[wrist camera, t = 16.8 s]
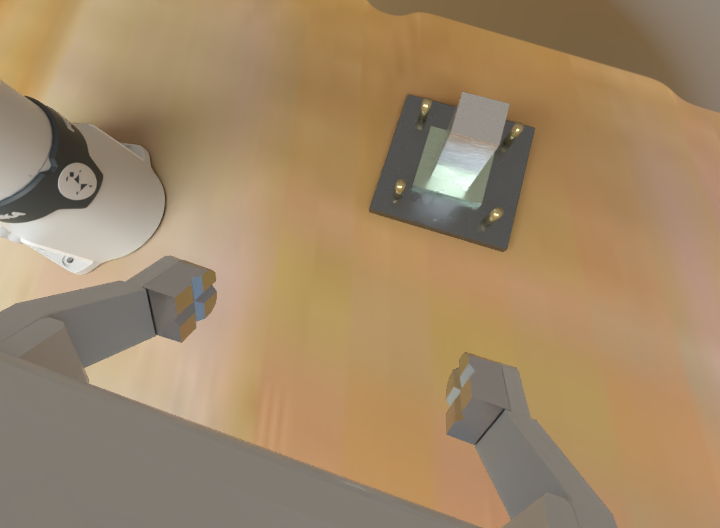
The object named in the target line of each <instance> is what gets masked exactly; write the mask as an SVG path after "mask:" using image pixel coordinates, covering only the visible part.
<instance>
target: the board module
mask: <svg viewBox="0 0 720 528" xmlns="http://www.w3.org/2000/svg"><path fill="white" fill-rule="evenodd" d="M509 105H510V104H508V103H504V102H500V101H496V100H493V99H489V98H485V97H481V96H477V95H473V94H469V93H466V92H462V94H461V97H460V99H459V101H458V104H457V106H456V109H455V111H454V114H453V116H452V119H451V121H450V123H449V126H448V128H447V130H444V129H440V128H437V127H433V126H431V127H430V130H429V134H428V137H427V140H426V143H425V147H424V150H423V153H422V157H421V160H420V163H419V166H418V170H417V173H416V176H415V179H414V183H413V186H412V188H415V189H418V190H422V191H425V192H429V193H432V194H436V195H439V196H443V197H446V198H450V199H453V200H457V201H460V202H464V203H467V204H471V205H474V206H478V207H480V206H481V205H482V201H483V197H484V193H485V189H486V185H487V181H488V177H489V173H490V169H491V165H492V161H493V157H494V153H495V151H496V149H497V148H498V146H499V145H500V141H501V137H502V133H503V129H504V125H505V121H506V117H507V113H508V109H509Z"/></svg>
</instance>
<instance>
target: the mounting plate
mask: <svg viewBox="0 0 720 528" xmlns="http://www.w3.org/2000/svg"><path fill="white" fill-rule="evenodd" d="M455 109H456V107H454V106H450V105H446V104H443V103H439V102H435V101H431V99H429V98H425V99H424V98H420V97H416V96H413V95H409V94H408V95H407V98H406V101H405V104H404V107H403V110H402V113H401V116H400V119H399V122H398V125H397V128H396V131H395V134H394V137H393V140H392V143H391V146H390V149H389V152H388V155H387V158H386V161H385V164H384V167H383V170H382V173H381V176H380V179H379V182H378V185H377V188H376V191H375V194H374V197H373V200H372V203H371V206H370V209H369V212H371V213H374V214H378V215H381V216H384V217H388V218H391V219H394V220H398V221H401V222H404V223H408V224H411V225H414V226H418V227H421V228H424V229H428V230H431V231H435V232H438V233H441V234H445V235H448V236H451V237H455V238H458V239H461V240H465V241H468V242H471V243H475V244H478V245H481V246H485V247H488V248H492V249H495V250H498V251H502V252H503V251H505V250H507V247H508V243H509V238H510V234H511V230H512V225H513V221H514V217H515V212H516V208H517V204H518V199H519V195H520V191H521V186H522V182H523V178H524V173H525V169H526V165H527V160H528V156H529V152H530V147H531V143H532V139H533V134H534V130H535V128H533V127H529V126H525V125H523V124H522V123H520V122H518V123H514V122H510V121H507V120H506V121H505V125H504V129H503V133H502V137H501V141H500V145H499V146H498V148H497V149H496V151H495V153H494V157H493V161H492V165H491V169H490V173H489V177H488V181H487V185H486V189H485V193H484V197H483V201H482V205H481V206H480V207H478V206H474V205H471V204H467V203H464V202H460V201H457V200H453V199H450V198H446V197H443V196H439V195H436V194H432V193H429V192H425V191H422V190H418V189H415V188H412V186H413V183H414V179H415V176H416V173H417V170H418V166H419V163H420V160H421V157H422V153H423V150H424V147H425V143H426V140H427V137H428V134H429V130H430V127H431V126H433V127H437V128H440V129H444V130H447V128H448V126H449V123H450V121H451V119H452V116H453V114H454V111H455Z"/></svg>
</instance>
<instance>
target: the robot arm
mask: <svg viewBox="0 0 720 528" xmlns="http://www.w3.org/2000/svg"><path fill="white" fill-rule="evenodd" d="M164 207H165V194H164V190H163V186H162V184H161V182H160V180H159V178H158V177H157V175H156V174H155V173H154V171H153V170H152V168H151V162H150V156H149V153H148V151H147V150H146V149H145V148H143V147H142V146H140V145H137V144H127V143H119V142H118V141H117V140H115V139H114V138H112V137H111V136H109V135H108V134H106V133H105V132H103V131H102V130H101V129H99V128H98V127H96V126H94V125H92V124H86V125H85V124H81V123H70V122H69V121H67V120H66V119H65V118H64V117H63V116H62V115H61V114H59V113H58V112H56V111H55V110H53V109H52V108H50V107H48V106H45V105H44V104H42V103H41V102H39V101H38V100H35V99H33V98H31V97H28V96H23V95H22V94H21V93H19V92H18V91H16V90H15V89H13V88H12V87H11V86H9V85H8V84H6V83H5V82H3V81H2V80H1V79H0V237H3V238H6V239H9V240H11V241H13V242H16V243H19V244H23V243H24V244H26V245H27V246H29V247H31V248H32V249H34V250H36V251H37V252H39V253H40V254H42V255H44V256H45V257H47V258H49V259H50V260H52V261H53V262H55V263H57V264H58V265H60V266H61V267H63V268H65V269H66V270H68V271H70V272H72V273H75V274H78V275H83V274H86V273H88V272H90V271H91V270H93V269H94V268H96V267H97V266H99V265H100V264H101V263H104V262H106V261H109V260H113V259H117V258H120V257H123V256H125V255H128V254H130V253H131V252H133V251H135V250H136V249H138V248H139V247H141V246H142V245H143V244H144V243H145V242H146V241H147V240H148V239H149V238H150V237H151V236H152V235H153V233H154V232H155V230H156V229H157V227H158V225H159V223H160V221H161V219H162V216H163V212H164ZM73 259H74V260H73ZM72 260H73V262H72ZM215 281H216V275H215V272H214V271H213V270H211V269H208V268H205V267H202V266H199V265H197V264H194V263H191V262H188V261H185V260H181V259H178V258H176V257H173V256H165V257H163V258H161V259H160V260H158V261H157V262H155V263H154V264H152V265H151V266H149V267H148V268H146V269H144V270H143V271H141V272H140V273H138V274H137V275H135V276H134V277H132V278H130V279H129V280H127V281H126V282H123V281H116V282H111V283H107V284H102V285H98V286H93V287H89V288H84V289H80V290H75V291H71V292H66V293H62V294H57V295H52V296H48V297H43V298H39V299H34V300H30V301H25V302H21V303H16V304H14V305H12V306H10V307H9V308H7V309H5V310H3V311H1V312H0V528H482V527H479V526H476V525H473V524H471V523H468V522H465V521H463V520H460V519H457V518H454V517H452V516H449V515H446V514H443V513H441V512H438V511H435V510H432V509H430V508H427V507H424V506H422V505H419V504H416V503H413V502H411V501H408V500H405V499H402V498H400V497H397V496H394V495H392V494H389V493H386V492H383V491H381V490H378V489H375V488H372V487H370V486H367V485H364V484H362V483H359V482H356V481H353V480H351V479H348V478H345V477H343V476H340V475H337V474H334V473H332V472H329V471H326V470H323V469H321V468H318V467H315V466H313V465H310V464H307V463H304V462H302V461H299V460H296V459H293V458H291V457H288V456H285V455H283V454H280V453H277V452H274V451H272V450H269V449H266V448H263V447H261V446H258V445H255V444H252V443H250V442H247V441H244V440H242V439H239V438H236V437H233V436H231V435H228V434H225V433H222V432H220V431H217V430H214V429H211V428H209V427H206V426H203V425H200V424H198V423H195V422H192V421H190V420H187V419H184V418H181V417H179V416H176V415H173V414H170V413H168V412H165V411H162V410H160V409H157V408H154V407H151V406H149V405H146V404H143V403H140V402H138V401H135V400H132V399H129V398H127V397H124V396H121V395H119V394H116V393H113V392H110V391H108V390H105V389H102V388H99V387H97V386H94V385H91V384H89V379H88V376H87V374H86V372H85V370H84V368H85V367H87V366H90V365H92V364H94V363H96V362H99V361H101V360H103V359H105V358H108V357H110V356H112V355H114V354H117V353H119V352H121V351H123V350H125V349H128V348H130V347H132V346H134V345H137V344H139V343H141V342H143V341H146V340H148V339H150V338H152V337H155V336H156V335H159V336H162V337H165V338H169V339H172V340H175V341H178V342H181V343H182V342H183V341H184V340H185V339H186V338H187V337H188V336H189V335H190V334H191V333H192V332H193V331H194V330H195V329H196V321H199V320H202V319H205V318H206V317H207V316H208V315H209V314H210V313H211V312H212V310H213V308H214V306H215V304H216V299H217V291H216V290H215V288H214V287H213V285H212V284H213V283H214V282H215ZM446 400H447V402H448V404H449V405H450V408H449V409H448V411H447V412H446V434H447V435H449V436H452V437H455V438H457V439H460V440H463V441H465V442H468V443H471V444H473V445H476V446H475V448H476V450H477V452H478V454H479V456H480V458H481V460H482V462H483V464H484V466H485V468H486V470H487V472H488V474H489V476H490V478H491V480H492V482H493V484H494V486H495V488H496V490H497V492H498V494H499V496H500V498H501V500H502V502H503V504H504V506H505V508H506V510H507V512H508V514H509V516H510V518H511V520H510V521H509V522H508V523H507V524H505V525H504V526H503V527H501V528H618V527H617V525H616V522H615V520H614V517H613V514H612V513H611V512H610V510H609V509H608V508H607V507H606V505H605V504H604V503H603V502H602V501H601V499H600V498H599V497H598V496H597V494H596V493H595V492H594V491H593V489H592V488H591V487H590V486H589V485H588V483H587V482H586V481H585V480H584V478H583V477H582V476H581V475H580V473H579V472H578V471H577V470H576V468H575V467H574V466H573V465H572V464H571V462H570V461H569V460H568V459H567V457H566V456H565V455H564V454H563V452H562V451H561V450H560V449H559V448H558V446H557V445H556V444H555V443H554V441H553V440H552V439H551V438H550V436H549V435H548V434H547V433H546V431H545V430H544V429H543V428H542V427H541V425H540V424H539V423H538V422H537V420H535V419H532V418H531V417H530V413H529V409H528V405H527V401H526V398H525V394H524V390H523V386H522V382H521V378H520V374H519V371H518V370H517V368H516V367H512V366H509V365H506V364H503V363H498V362H495V361H492V360H489V359H486V358H483V357H480V356H476V355H473V354H470V353H467V352H465V353H464V354H462V356H461V358H460V359H459V367H458V368H456V369H453V371H452V373H451V375H450V377H449V380H448V384H447V389H446Z"/></svg>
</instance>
